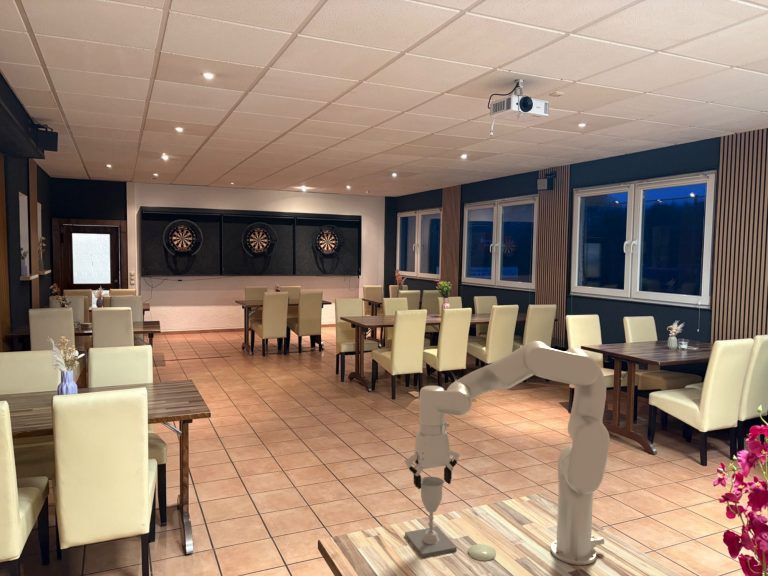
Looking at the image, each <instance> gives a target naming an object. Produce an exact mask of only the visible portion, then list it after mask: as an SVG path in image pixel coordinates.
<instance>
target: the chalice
mask: <svg viewBox="0 0 768 576" xmlns="http://www.w3.org/2000/svg"><path fill="white" fill-rule="evenodd" d="M444 483H445V481H444V479H443V478H440V477H436V476H425V477H421V489H420V498H421V501H422V504H423V506H424V509H425V510H426V512H428V513H429V516H428V520H429V522H428V523H427V525H428V528H429V530H427V531H426V532H425V534H424V537H423V539H422V540H423V541H424V542H425V543H428V544H436V543H438V542H439V538H438V535H437V533H436V532H435V531H434V530H433V527H434V525H435V523H434V522H433V521H434V519H435V518H434V513H435V512H437V510H438V508H439V506H440V504H441V502H442V499H443V485H444Z"/></svg>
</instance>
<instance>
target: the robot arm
mask: <svg viewBox="0 0 768 576" xmlns="http://www.w3.org/2000/svg"><path fill="white" fill-rule="evenodd" d="M604 375H605V374H604V372H603V371H602V368H601V367H600V365H599V363H598V362H597V360H595V358H594V357H592V355H591V354H590V353H588V352H587V351H585V350H584V349H583V348H578V347H571V348H569V349H567V350H566V351H563V350H559V349H555V348H552V347H550V346H549V345H547V343H545V342H542V341H539V340H534V341H530V342H528V343H526V344H524V345H523V346H521V347H519V348H517V349H515V350H514V351H512V352H510V353H509V354H506V355H505V356H503V357H502V358H500V359H498V360H496V361H494V362H492V363H490V364H487V365H485V366H483V367H480V368H477V369H475V370H473V371H471V372H469V373H467V374H465V375H463V376H462V377H460V378H459V379H456V380H455V381H454V382H452V383H451V384H449V386H448V387H447V389H446V390H445V388H443V387H442V386H439V385H425V386H423V387H421V389H420V391H419V432H417V433H416V437H415V443H414V451H413V452H414V453H413V454H412V456H410V457H408V458H407V459H405V461H404V463H405V465H406V467H407V469H408V470H409V471H410V472H411V473H412V474H413V485H414V486H415V487H416V488H417V489H418V490H421V478H422V475H420V474H421V473H422V471H423V470H424V469H431V468H433V469H434V468H438V467H444V468H443V481H444V482H446V484H448V485H451V483H452V482H451V481H452V478H453V477H452V476H453V475H452V471H454V467H456V465H457V462H458V460H459V459H460V453H458V452H457V451H454V450H452V449H450V448H451V446H450V439H449V435H448V432H447V428H450V422H446V414H447V415H452V416H463V415H466V414H467V413H469V412H470V410H471V409H472V406H473V405H472V404H473V401H472V400H474V399H476V398H478V397H479V396H482V395H483V394H485V393H487V392H490V391H496V390H499V391H500V390H501V391H505V390H509V389H512V388H513V387H514V386H516V385H518V384H520V383H521V382H524V381H525V380H528V379H529V378H531V377H533V376H536V377H539V378H542V379H546V380H551V381H554V382H559V383H563V384H568V385H573V386H574V391H573V392H574V393H573V399H572V400H573V401H572V406H571V410H570V415H569V420H568V423H567V433H568V435H569V437H570V439H571V440H572V444H570V445H567V446H565V447H564V448H563V449H562V450H561V451H560V453H559V456H558V459H557V475H558V476H557V477H558V478H557V479H558V489H557V490H558V492H557V494H558V496H557V520H556V539H555V540H554V541H552V543H551V544H550V553H551V554H552V555H553V556H554V557H555V558H557V559H558V560H560V561H562V562H564V563H567V564H570V565H571V564H572V565H576V566H578V565H579V566H585V565H586V566H587V565H589V564H592V563H594V562H595V561H596V559H597V552H596V550H595V548H596V547H597V546H600V545H604V544H605V540H604V538H603V536H602V537H596V538H595V536H594V534H592V529H593V528H592V526H593V507H594V506H593V505H594V492H596V491H597V490H598V489H599V488H600V486H601V484H602V482H603V479H604V476H605V470H606V466H607V461H608V457H609V451H610V447H611V446H610V444H611V443H610V442H611V441H610V440H611V439H610V434H609V431H608V429H607V427H606V426H605V425H604V423H603V420H604V419H603V418H604V412H605V407H606V406H605V405H606V398H607V384H606V379H605V376H604ZM451 456H452V458H451ZM413 463H414V464H415V465H414V467H413Z"/></svg>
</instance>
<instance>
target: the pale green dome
mask: <svg viewBox="0 0 768 576" xmlns="http://www.w3.org/2000/svg"><path fill="white" fill-rule="evenodd" d="M467 552H468V555H469V557H471V558H472V559H474V560H477V561H481V562H482V561H483V562H487V561H492V560H494V559H496V556H497V551H496V549H495V548H494V547H492V546H491V545H488V544H481V543H478V544H473V545H471V546H469V547H468V550H467Z"/></svg>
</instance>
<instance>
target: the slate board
mask: <svg viewBox="0 0 768 576" xmlns="http://www.w3.org/2000/svg"><path fill="white" fill-rule="evenodd" d="M427 530H429V527H428V528H421V529H417V530H416V529H415V530H409V531H404V536H405V538H406V539H407V540H408V541H409V543H410V544H411V546H412V547H413V548H414V549H415V550H416V552H417V553H418V555H420V556H421V558H426V557H427V558H428V557H430V556H431V557H432V556H436V555H437V556H438V555H441V554H446V553H451V552H452V553H453V552H456V551H457V546H456V545H455V544H454V543H453V542H452V540H451V539H449V537H447V536H446V534H445V533H444V531H442V529H440V528H439V526H433V530H434V531H435V532H436V533H437V535H438V538H439V542H438V543H436V544H428V543H425V542H424V541H423V540H422V539H423V537H424V534H425V532H426V531H427Z"/></svg>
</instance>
